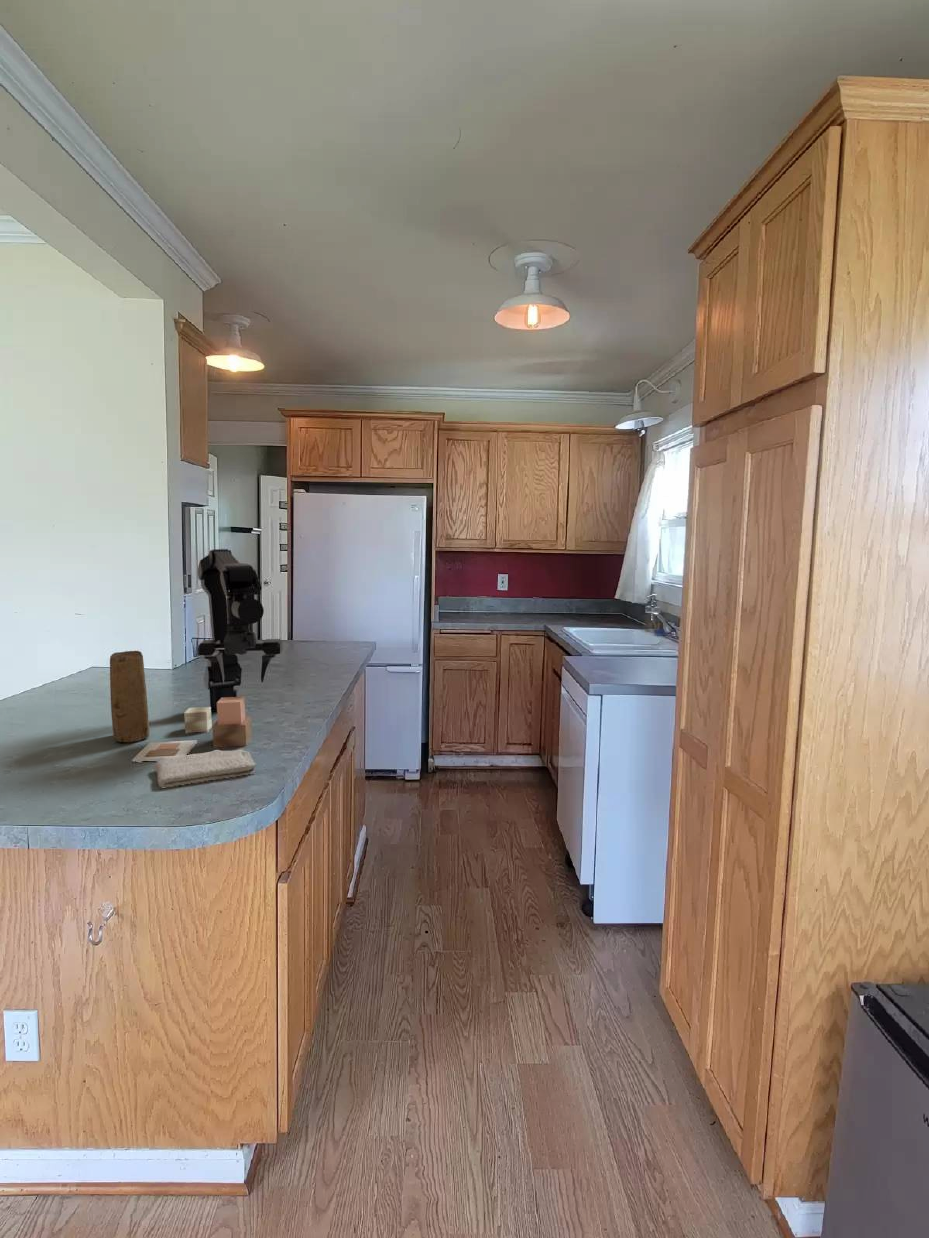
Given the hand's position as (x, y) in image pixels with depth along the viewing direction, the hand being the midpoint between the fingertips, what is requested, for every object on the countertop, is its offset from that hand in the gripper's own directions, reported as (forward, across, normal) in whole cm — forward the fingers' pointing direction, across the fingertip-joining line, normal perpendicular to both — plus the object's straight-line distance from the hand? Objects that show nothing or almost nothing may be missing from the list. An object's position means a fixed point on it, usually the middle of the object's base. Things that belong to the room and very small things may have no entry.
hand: (242, 682), depth 160 cm
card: (+11, -13, -17) cm, 24 cm away
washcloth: (+11, -2, -31) cm, 33 cm away
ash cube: (+12, -11, 0) cm, 16 cm away
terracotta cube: (+6, -1, -11) cm, 13 cm away
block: (+12, -25, -4) cm, 28 cm away
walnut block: (+11, 0, -11) cm, 16 cm away
